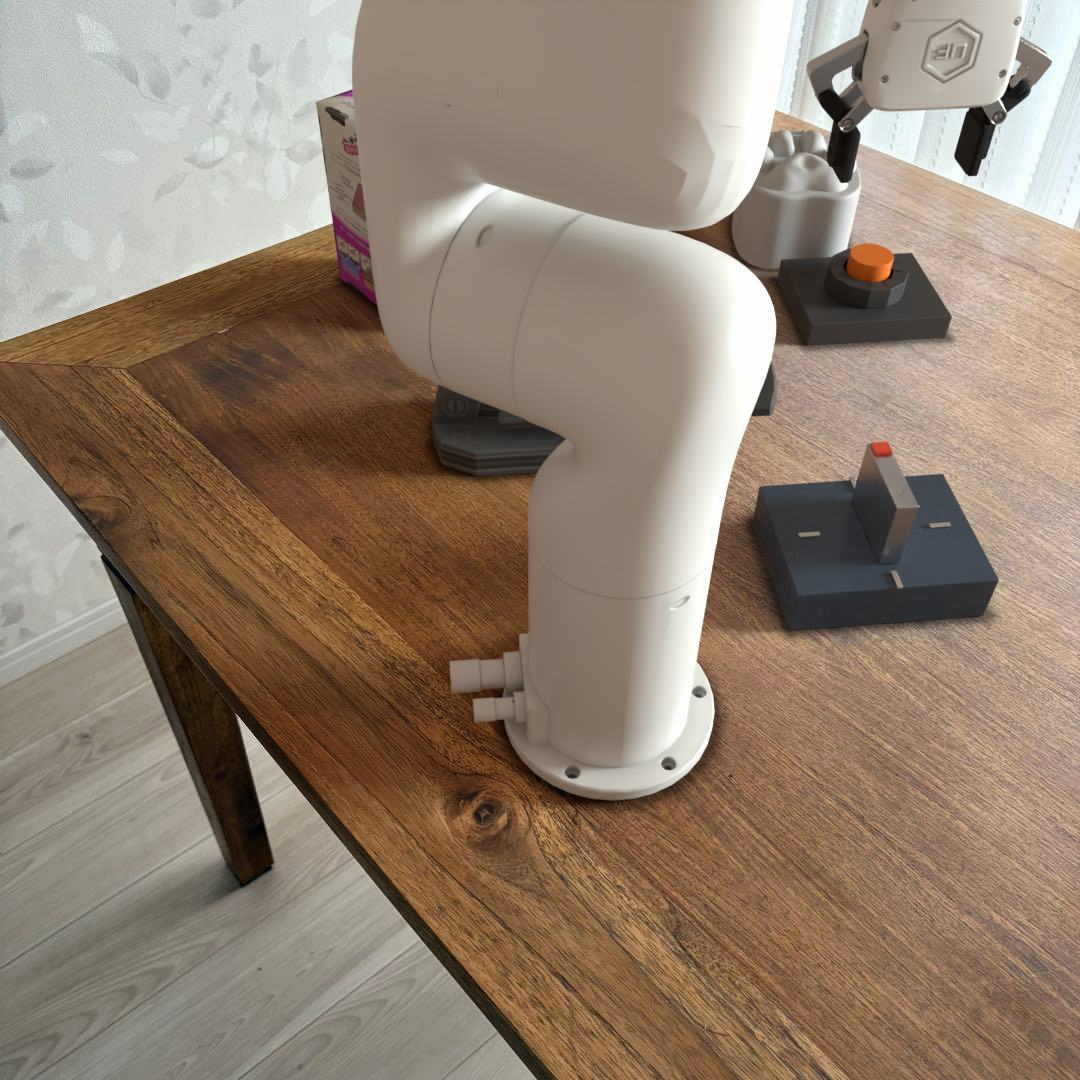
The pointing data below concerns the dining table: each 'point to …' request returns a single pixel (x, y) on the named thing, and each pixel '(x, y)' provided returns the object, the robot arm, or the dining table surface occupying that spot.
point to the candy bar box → (346, 191)
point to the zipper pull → (513, 433)
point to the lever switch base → (869, 558)
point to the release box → (861, 302)
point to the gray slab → (884, 503)
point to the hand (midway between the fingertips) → (902, 170)
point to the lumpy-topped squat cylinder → (795, 203)
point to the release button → (869, 263)
